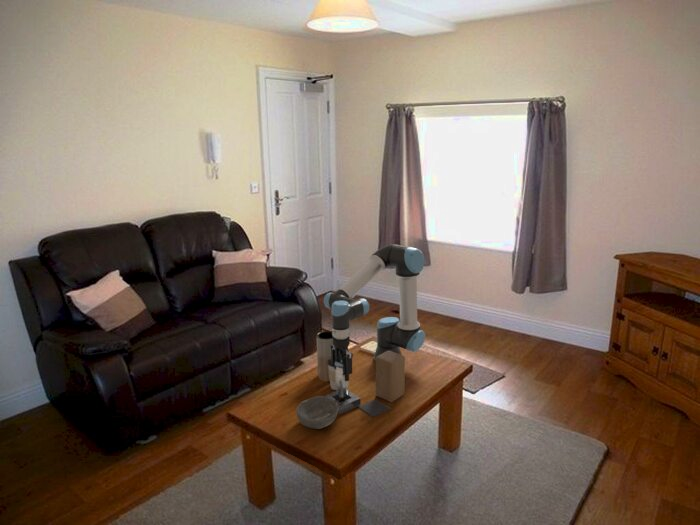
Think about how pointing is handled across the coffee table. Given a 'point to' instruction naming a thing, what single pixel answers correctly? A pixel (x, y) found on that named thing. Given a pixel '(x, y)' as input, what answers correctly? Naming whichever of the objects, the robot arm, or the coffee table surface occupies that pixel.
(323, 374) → the planter
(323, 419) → the bowl
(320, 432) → the coffee table surface
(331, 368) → the coffee cup
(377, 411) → the mat
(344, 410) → the frame
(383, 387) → the wooden block
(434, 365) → the coffee table surface
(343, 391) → the silver domed cylinder
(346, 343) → the robot arm
